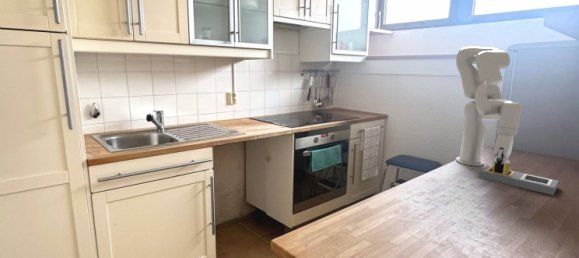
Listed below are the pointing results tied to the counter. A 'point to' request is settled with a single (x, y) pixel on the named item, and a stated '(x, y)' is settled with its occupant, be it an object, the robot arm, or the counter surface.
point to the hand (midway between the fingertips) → (500, 170)
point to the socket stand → (521, 180)
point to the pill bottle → (506, 165)
